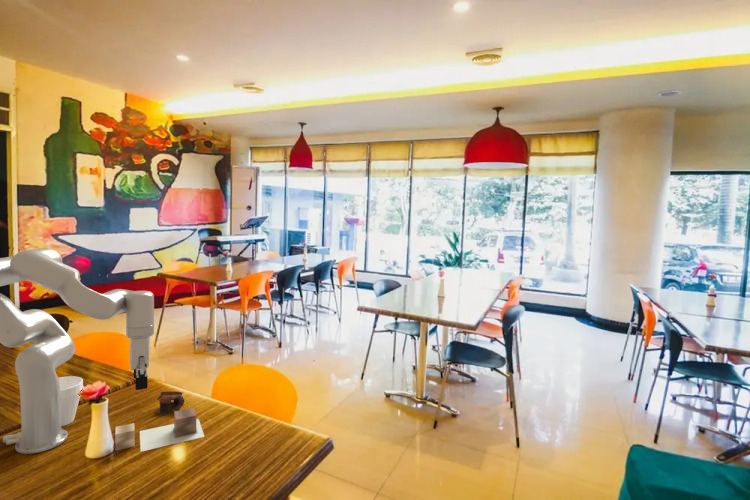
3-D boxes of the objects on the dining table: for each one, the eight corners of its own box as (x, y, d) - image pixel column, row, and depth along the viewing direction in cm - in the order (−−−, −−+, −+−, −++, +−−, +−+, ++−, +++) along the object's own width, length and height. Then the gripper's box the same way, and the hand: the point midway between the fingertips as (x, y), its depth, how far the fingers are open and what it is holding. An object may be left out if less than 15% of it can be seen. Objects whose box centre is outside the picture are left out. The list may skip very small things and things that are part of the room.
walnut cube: (176, 437, 130) (176, 419, 129) (174, 428, 135) (174, 411, 134) (196, 432, 133) (196, 415, 133) (193, 424, 138) (193, 407, 138)
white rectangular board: (140, 454, 122) (140, 451, 122) (139, 433, 133) (139, 430, 133) (204, 438, 131) (204, 436, 131) (198, 420, 142) (198, 418, 142)
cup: (59, 434, 131) (58, 393, 129) (28, 428, 133) (27, 388, 132) (92, 415, 143) (92, 378, 141) (63, 410, 145) (63, 374, 144)
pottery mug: (147, 415, 145) (152, 391, 149) (169, 416, 153) (173, 393, 157) (172, 414, 141) (177, 389, 145) (193, 415, 149) (197, 391, 153)
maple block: (115, 453, 122) (115, 434, 121) (115, 445, 126) (115, 426, 125) (134, 449, 124) (134, 430, 124) (134, 440, 129) (134, 422, 128)
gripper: (125, 324, 132) (125, 375, 133) (127, 339, 117) (127, 396, 119) (151, 322, 136) (151, 371, 137) (156, 336, 121) (156, 391, 123)
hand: (140, 383), depth 128 cm, fingers open, 9 cm apart
